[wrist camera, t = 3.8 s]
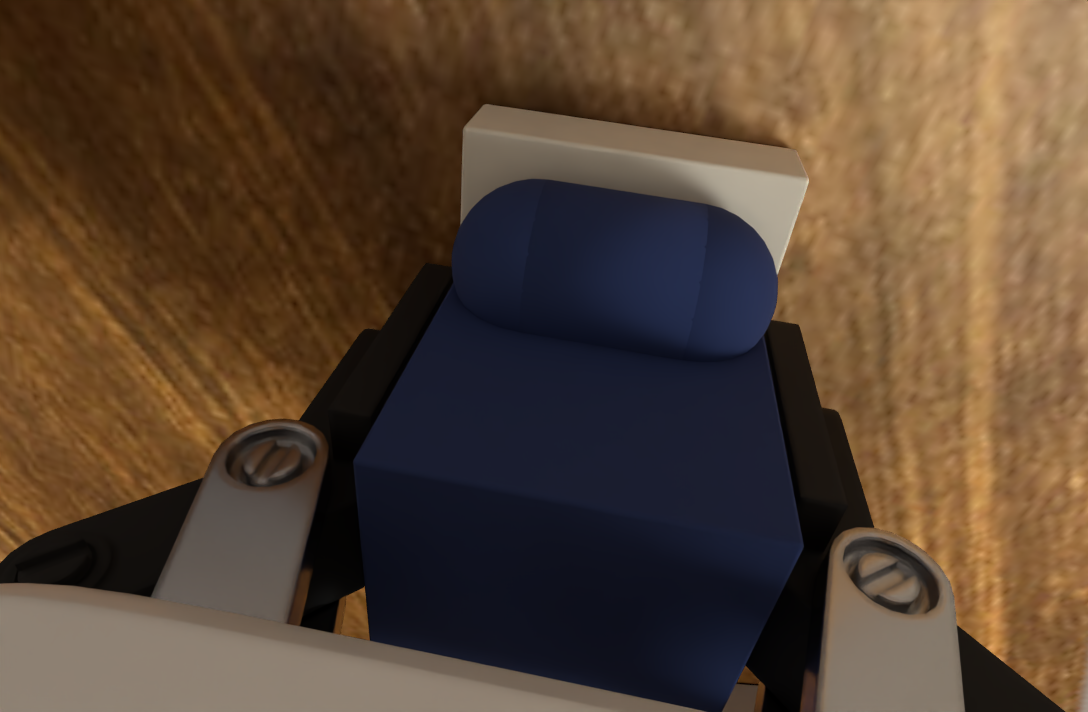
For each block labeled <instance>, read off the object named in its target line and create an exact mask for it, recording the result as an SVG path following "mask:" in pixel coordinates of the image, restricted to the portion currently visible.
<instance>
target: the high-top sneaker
mask: <svg viewBox="0 0 1088 712" xmlns="http://www.w3.org/2000/svg"><path fill="white" fill-rule="evenodd" d="M808 183H809V178H808V176H807V173H806V171H805V169H804V167H803V164H802V162H801V160H800V158H799V155H798V153H797V151H796V150H794V149H789V148H782V147H775V146H768V145H762V144H755V143H748V142H741V141H734V140H728V139H721V138H714V137H707V136H700V135H694V134H687V133H680V132H673V131H666V130H660V129H653V128H646V127H639V126H632V125H626V124H619V123H612V122H605V121H598V120H592V119H585V118H578V117H571V116H564V115H558V114H551V113H544V112H537V111H530V110H524V109H517V108H510V107H503V106H496V105H490V104H485V105H483V106H482V107H481V108H480V109H479V111H478V112H477V113H476V114H475V115H474V116H473V117H472V119H471V120H470V121H469V122H468V123H467V124H466V125H465V127H464V129H463V148H462V185H461V222H460V227H459V230H458V233H457V236H456V239H455V242H454V245H453V251H452V276H453V281H454V282H453V284H452V286H451V288H450V290H449V291H448V293H447V295H446V297H445V298H444V300H443V302H442V304H441V306H440V307H439V309H438V311H437V313H436V314H435V316H434V318H433V320H432V322H431V323H430V325H429V327H428V329H427V330H426V332H425V334H424V336H423V338H422V339H421V341H420V343H419V345H418V346H417V348H416V350H415V352H414V354H413V355H412V357H411V359H410V361H409V362H408V364H407V366H406V368H405V370H404V371H403V373H402V375H401V377H400V379H399V380H398V382H397V384H396V386H395V387H394V389H393V391H392V393H391V395H390V396H389V398H388V400H387V402H386V403H385V405H384V407H383V409H382V411H381V412H380V414H379V416H378V418H377V419H376V421H375V423H374V425H373V427H372V428H371V430H370V432H369V434H368V435H367V437H366V439H365V441H364V443H363V444H362V446H361V448H360V450H359V451H358V453H357V455H356V457H355V459H354V461H353V465H354V475H355V486H356V497H357V507H358V518H359V529H360V539H361V550H362V560H363V571H364V582H365V592H366V603H367V614H368V624H369V635H370V641H373V642H378V643H383V644H388V645H393V646H398V647H403V648H407V649H412V650H417V651H422V652H427V653H432V654H436V655H441V656H446V657H451V658H456V659H460V660H465V661H470V662H475V663H479V664H484V665H489V666H494V667H498V668H503V669H508V670H513V671H518V672H522V673H527V674H532V675H537V676H541V677H546V678H551V679H556V680H560V681H565V682H570V683H574V684H579V685H584V686H589V687H593V688H598V689H603V690H608V691H612V692H617V693H622V694H626V695H631V696H636V697H641V698H645V699H650V700H655V701H660V702H664V703H669V704H674V705H678V706H683V707H687V708H692V709H697V710H701V711H706V712H722V711H723V709H724V707H725V705H726V703H727V701H728V699H729V697H730V695H731V693H732V691H733V689H734V687H735V685H736V683H737V681H738V679H739V677H740V675H741V673H742V671H743V669H744V667H745V665H746V663H747V661H748V659H749V657H750V654H751V652H752V650H753V648H754V646H755V644H756V642H757V640H758V638H759V636H760V634H761V632H762V630H763V628H764V626H765V624H766V622H767V620H768V618H769V616H770V614H771V612H772V610H773V608H774V606H775V604H776V602H777V600H778V598H779V596H780V594H781V592H782V590H783V588H784V586H785V584H786V582H787V580H788V578H789V576H790V574H791V572H792V570H793V568H794V566H795V564H796V562H797V560H798V558H799V556H800V554H801V552H802V550H803V547H804V544H803V539H802V533H801V528H800V523H799V518H798V512H797V507H796V502H795V497H794V491H793V486H792V481H791V475H790V470H789V465H788V460H787V454H786V449H785V444H784V438H783V433H782V428H781V423H780V417H779V412H778V407H777V402H776V396H775V391H774V386H773V380H772V375H771V370H770V365H769V359H768V354H767V349H766V343H765V338H764V333H765V332H766V330H767V328H768V326H769V324H770V321H771V319H772V316H773V314H774V311H775V308H776V303H777V294H778V277H777V275H778V272H779V269H780V266H781V263H782V260H783V257H784V254H785V251H786V248H787V245H788V242H789V239H790V236H791V233H792V230H793V228H794V225H795V222H796V219H797V216H798V213H799V210H800V207H801V204H802V201H803V198H804V195H805V192H806V189H807V186H808Z"/></svg>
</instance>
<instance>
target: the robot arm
mask: <svg viewBox="0 0 1088 712" xmlns="http://www.w3.org/2000/svg"><path fill="white" fill-rule="evenodd" d="M453 282H454V281H453V276H452V267H449V266H443V265H437V264H431V263H426V264H425V265H424V266H423V267H422V269H421V270H420V272H419V273H418V275H417V276H416V278H415V279H414V281H413V282H412V284H411V285H410V287H409V288H408V290H407V291H406V293H405V294H404V296H403V297H402V299H401V300H400V302H399V303H398V305H397V306H396V308H395V309H394V311H393V312H392V314H391V315H390V317H389V318H388V320H387V321H386V323H385V324H384V326H383V327H382V329H381V330H375V329H369V328H368V329H364V330H363V331H362V332H361V334H360V335H359V336H358V337H357V339H356V340H355V342H354V343H353V345H352V346H351V347H350V349H349V350H348V352H347V353H346V354H345V356H344V357H343V359H342V360H341V361H340V363H339V364H338V366H337V367H336V369H335V370H334V371H333V373H332V374H331V376H330V377H329V378H328V380H327V381H326V383H325V384H324V386H323V387H322V388H321V390H320V391H319V393H318V394H317V395H316V397H315V398H314V400H313V401H312V403H311V404H310V405H309V407H308V408H307V410H306V411H305V412H304V414H303V415H302V417H301V418H300V420H291V419H273V420H265V421H262V422H258V423H254V424H251V425H248V426H246V427H244V428H242V429H240V430H238V431H236V432H234V433H233V434H232V435H231V436H229V437H228V438H227V439H226V440H224V441H223V442H222V443H221V445H220V446H219V448H218V449H217V451H216V452H215V453H214V455H213V458H212V460H211V462H210V464H209V467H208V469H207V471H206V473H205V476H204V478H201V479H198V480H195V481H192V482H190V483H187V484H184V485H181V486H178V487H175V488H172V489H169V490H167V491H164V492H161V493H158V494H155V495H152V496H149V497H146V498H143V499H141V500H138V501H135V502H132V503H129V504H126V505H123V506H120V507H118V508H115V509H112V510H109V511H106V512H103V513H100V514H97V515H94V516H92V517H89V518H86V519H83V520H80V521H77V522H74V523H71V524H69V525H66V526H63V527H60V528H57V529H54V530H51V531H49V532H47V533H44V534H42V535H40V536H38V537H35V538H33V539H31V540H29V541H28V542H26V543H25V544H23V545H22V546H20V547H19V548H17V549H16V550H14V551H13V552H11V553H10V554H9V555H8V556H7V557H6V558H5V559H4V560H3V561H2V562H1V563H0V712H706V711H701V710H697V709H692V708H687V707H683V706H678V705H674V704H669V703H664V702H660V701H655V700H650V699H645V698H641V697H636V696H631V695H626V694H622V693H617V692H612V691H608V690H603V689H598V688H593V687H589V686H584V685H579V684H574V683H570V682H565V681H560V680H556V679H551V678H546V677H541V676H537V675H532V674H527V673H522V672H518V671H513V670H508V669H503V668H498V667H494V666H489V665H484V664H479V663H475V662H470V661H465V660H460V659H456V658H451V657H446V656H441V655H436V654H432V653H427V652H422V651H417V650H412V649H407V648H403V647H398V646H393V645H388V644H383V643H378V642H373V641H368V640H364V639H359V638H354V637H349V636H344V635H340V634H341V628H342V622H343V617H344V611H345V605H346V596H347V595H349V594H351V593H353V592H355V591H357V590H359V589H361V588H363V587H364V586H365V582H364V571H363V560H362V550H361V539H360V529H359V518H358V507H357V497H356V486H355V475H354V465H353V461H354V459H355V457H356V455H357V453H358V451H359V450H360V448H361V446H362V444H363V443H364V441H365V439H366V437H367V435H368V434H369V432H370V430H371V428H372V427H373V425H374V423H375V421H376V419H377V418H378V416H379V414H380V412H381V411H382V409H383V407H384V405H385V403H386V402H387V400H388V398H389V396H390V395H391V393H392V391H393V389H394V387H395V386H396V384H397V382H398V380H399V379H400V377H401V375H402V373H403V371H404V370H405V368H406V366H407V364H408V362H409V361H410V359H411V357H412V355H413V354H414V352H415V350H416V348H417V346H418V345H419V343H420V341H421V339H422V338H423V336H424V334H425V332H426V330H427V329H428V327H429V325H430V323H431V322H432V320H433V318H434V316H435V314H436V313H437V311H438V309H439V307H440V306H441V304H442V302H443V300H444V298H445V297H446V295H447V293H448V291H449V290H450V288H451V286H452V284H453ZM764 338H765V343H766V349H767V354H768V359H769V365H770V370H771V375H772V380H773V386H774V391H775V396H776V402H777V407H778V412H779V417H780V423H781V428H782V433H783V438H784V444H785V449H786V454H787V460H788V465H789V470H790V475H791V481H792V486H793V491H794V497H795V502H796V507H797V512H798V518H799V523H800V528H801V533H802V539H803V544H804V547H803V550H802V552H801V554H800V556H799V558H798V560H797V562H796V564H795V566H794V568H793V570H792V572H791V574H790V576H789V578H788V580H787V582H786V584H785V586H784V588H783V590H782V592H781V594H780V596H779V598H778V600H777V602H776V604H775V606H774V608H773V610H772V612H771V614H770V616H769V618H768V620H767V622H766V624H765V626H764V628H763V630H762V632H761V634H760V636H759V638H758V640H757V642H756V644H755V646H754V648H753V650H752V652H751V654H750V657H749V659H748V661H747V663H746V666H747V667H748V669H749V670H750V671H751V672H752V673H753V674H754V675H755V676H756V677H757V678H758V679H759V680H760V682H759V685H758V689H757V695H756V701H755V706H754V712H1065V711H1064V710H1062V709H1061V708H1060V707H1059V706H1057V705H1056V704H1055V703H1054V702H1052V701H1051V700H1050V699H1049V698H1047V697H1046V696H1045V695H1044V694H1042V693H1041V692H1040V691H1039V690H1037V689H1036V688H1035V687H1034V686H1032V685H1031V684H1030V683H1029V682H1027V681H1026V680H1025V679H1024V678H1022V677H1021V676H1020V675H1019V674H1017V673H1016V672H1015V671H1014V670H1012V669H1011V668H1010V667H1009V666H1007V665H1006V664H1005V663H1004V662H1002V661H1001V660H1000V659H999V658H997V657H996V656H995V655H994V654H992V653H991V652H990V651H989V650H987V649H986V648H985V647H984V646H982V645H981V644H980V643H979V642H977V641H976V640H975V639H974V638H972V637H971V636H970V635H969V634H967V633H966V632H965V631H964V630H962V629H961V628H960V627H959V626H957V623H956V612H955V602H954V595H953V592H952V588H951V585H950V581H949V580H948V578H947V577H946V575H945V574H944V572H943V571H942V569H941V567H940V566H939V565H938V564H937V563H936V562H935V561H934V560H933V559H932V558H931V557H930V556H929V555H928V554H927V553H926V552H925V551H923V550H922V549H921V548H919V547H918V546H916V545H915V544H913V543H912V542H910V541H909V540H907V539H905V538H902V537H900V536H898V535H896V534H894V533H892V532H888V531H884V530H880V529H876V528H874V525H873V522H872V519H871V515H870V512H869V509H868V505H867V502H866V499H865V496H864V492H863V489H862V486H861V482H860V479H859V476H858V472H857V469H856V466H855V463H854V459H853V456H852V453H851V449H850V446H849V443H848V440H847V436H846V433H845V430H844V426H843V423H842V420H841V417H840V415H839V413H838V412H837V411H835V410H832V409H827V408H821V404H820V400H819V397H818V393H817V389H816V386H815V382H814V378H813V375H812V371H811V367H810V364H809V360H808V356H807V353H806V349H805V345H804V342H803V338H802V334H801V331H800V327H799V325H797V324H792V323H786V322H780V321H774V320H771V321H770V324H769V326H768V328H767V330H766V332H765V333H764Z"/></svg>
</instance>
